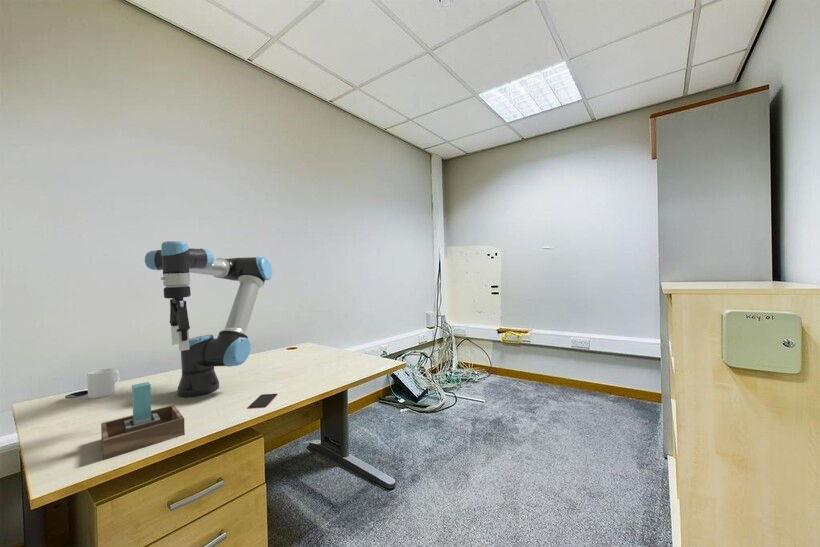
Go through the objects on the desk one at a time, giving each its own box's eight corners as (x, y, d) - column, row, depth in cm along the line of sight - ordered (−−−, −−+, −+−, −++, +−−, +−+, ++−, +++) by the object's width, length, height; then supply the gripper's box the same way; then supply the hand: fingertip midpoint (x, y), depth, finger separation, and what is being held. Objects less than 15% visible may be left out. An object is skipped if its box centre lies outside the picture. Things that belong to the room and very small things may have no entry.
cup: (82, 398, 133) (81, 374, 133) (110, 388, 145) (110, 366, 145) (101, 398, 132) (100, 374, 133) (128, 388, 144) (127, 365, 144)
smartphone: (278, 393, 132) (265, 407, 118) (278, 394, 132) (265, 408, 118) (261, 394, 131) (246, 408, 117) (261, 395, 131) (246, 409, 117)
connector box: (101, 439, 97) (101, 423, 97) (174, 419, 110) (174, 404, 110) (103, 459, 86) (103, 441, 86) (184, 434, 99) (184, 418, 99)
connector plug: (133, 430, 99) (132, 385, 100) (149, 425, 102) (148, 381, 102) (134, 434, 97) (133, 387, 97) (151, 429, 100) (150, 384, 100)
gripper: (158, 286, 118) (161, 343, 118) (169, 288, 100) (173, 355, 101) (182, 284, 123) (186, 339, 124) (198, 286, 105) (201, 350, 106)
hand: (180, 347), depth 112 cm, fingers open, 13 cm apart
